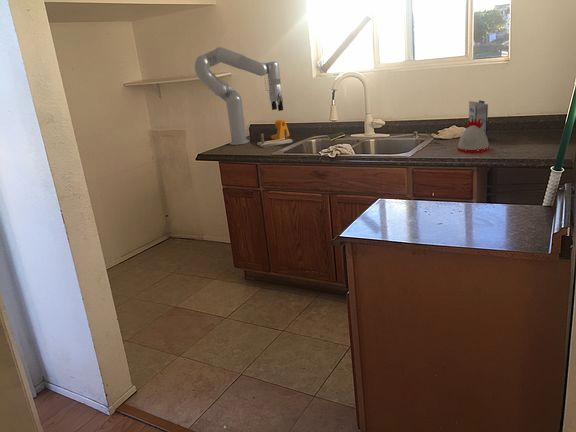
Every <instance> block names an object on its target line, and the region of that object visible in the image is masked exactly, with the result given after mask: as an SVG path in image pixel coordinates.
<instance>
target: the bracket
mask: <svg viewBox="0 0 576 432" xmlns="http://www.w3.org/2000/svg"><path fill="white" fill-rule="evenodd" d="M274 126H275V128H276V129H277V133H275V134H272V135H271V136H270V137H271V140H276V139H282V138H285V133H284V129H287V134H288V137H290V132H289V128H288V126H287V122H286V120H285V119H277V120H275V122H274Z"/></svg>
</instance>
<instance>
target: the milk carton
mask: <svg viewBox="0 0 576 432" xmlns="http://www.w3.org/2000/svg"><path fill="white" fill-rule="evenodd" d="M488 110H489V104H488V103H487V104H486V101H484V100H481V99H480V100H478V101H475V100H474V101H471V100H469V101H468V121H470V122H471V120H472V118H473V121H474V122H475V119H476V120H477V123H478V120H479V119H480V124H481V123H482V122H483V124H482V126H481V129H483V131H484V132H485V134H486V136H487V137H488V114H489V113H488V112H489V111H488Z"/></svg>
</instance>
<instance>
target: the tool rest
mask: <svg viewBox="0 0 576 432" xmlns="http://www.w3.org/2000/svg"><path fill="white" fill-rule="evenodd" d="M284 133H285V138H282V139H271V140H266V141H265V137H264V132H263V133H260V134H259V135H260V142H257V146H260V147H262V148H268V147H273V146H279V145H284V144H291V143H293V139H292V138H291V139H290V138H289V136H288V134H287V129H284Z"/></svg>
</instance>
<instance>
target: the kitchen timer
mask: <svg viewBox="0 0 576 432" xmlns="http://www.w3.org/2000/svg"><path fill="white" fill-rule="evenodd" d="M467 122H468V123H464V124H465V130H463V132H462V134H461V135H460V137H459V141H458V144H457V152H458V153H459V152H460V153H463V154H480V153H481V154H482V153H485V152H488V151H489V150H490V143H489V140H488V135H487V136H486V134H485V132H484V131H483V129H481V126H482V124H483V122H482V123H481V124H480V119H479V120H478V123H477V120H476V119H475V122H474V121H473V118H472V120H471V122H470V121H469V120H468V121H467ZM487 148H488V149H487ZM484 149H485V150H484ZM465 150H466V151H465ZM477 150H479V151H477Z"/></svg>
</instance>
